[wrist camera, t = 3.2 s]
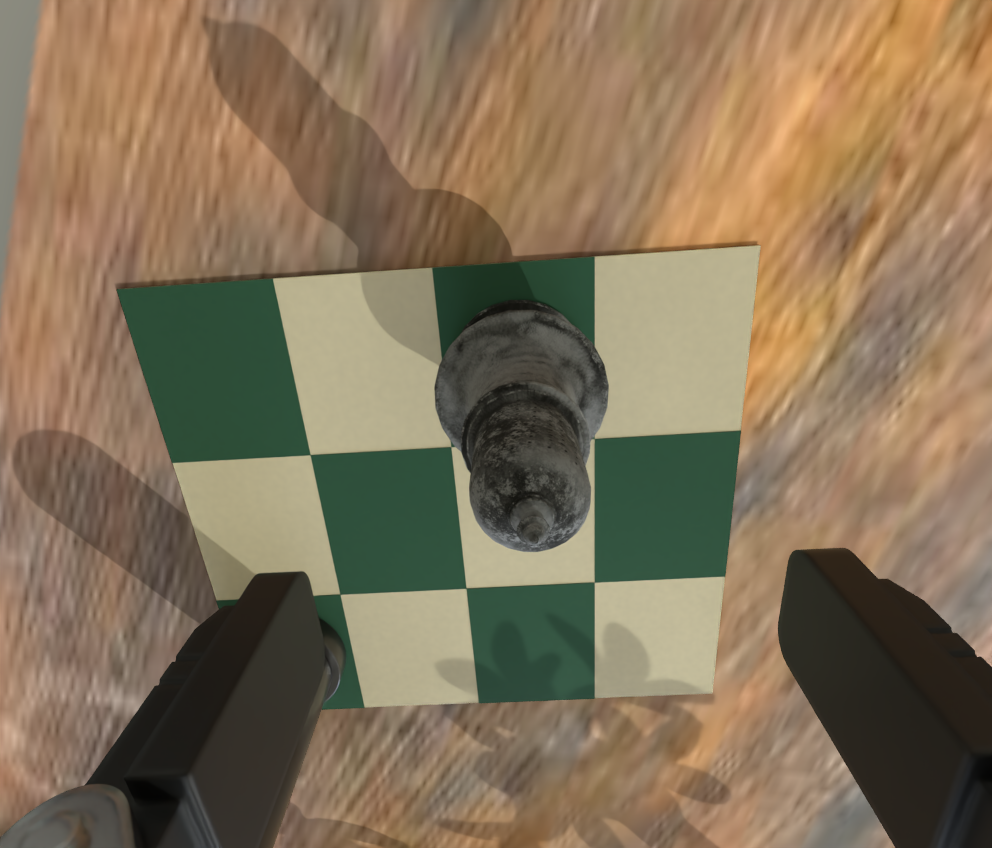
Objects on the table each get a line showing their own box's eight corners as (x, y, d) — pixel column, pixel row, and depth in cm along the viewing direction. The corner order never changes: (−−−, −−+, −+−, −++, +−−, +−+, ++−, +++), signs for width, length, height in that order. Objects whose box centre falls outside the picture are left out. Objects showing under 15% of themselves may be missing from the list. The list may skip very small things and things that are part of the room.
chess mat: (253, 709, 30) (251, 712, 30) (118, 288, 21) (116, 289, 21) (711, 691, 29) (712, 694, 29) (759, 245, 20) (761, 245, 20)
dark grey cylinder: (251, 694, 29) (129, 938, 20) (225, 611, 27) (75, 839, 18) (354, 689, 29) (282, 934, 19) (336, 605, 27) (244, 833, 17)
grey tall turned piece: (562, 266, 21) (630, 352, 10) (613, 403, 23) (718, 606, 12) (419, 327, 22) (331, 471, 11) (480, 455, 24) (460, 686, 13)
